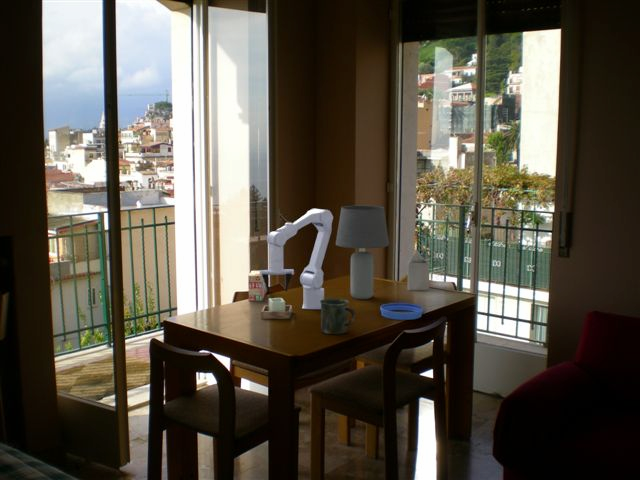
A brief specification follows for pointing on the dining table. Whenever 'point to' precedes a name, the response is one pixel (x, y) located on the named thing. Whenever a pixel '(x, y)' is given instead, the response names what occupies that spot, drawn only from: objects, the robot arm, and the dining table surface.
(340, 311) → the mug
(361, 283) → the lamp
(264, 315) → the big crate
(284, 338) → the dining table surface
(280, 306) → the box
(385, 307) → the bowl
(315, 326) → the dining table surface
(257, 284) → the stack of blocks
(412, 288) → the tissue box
